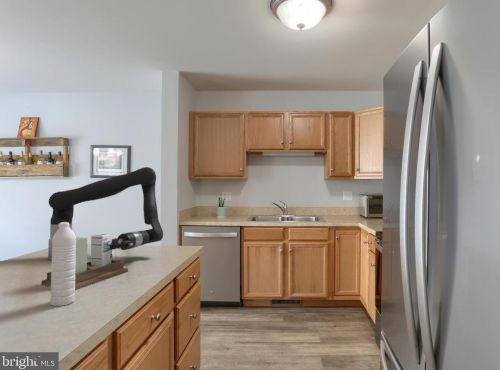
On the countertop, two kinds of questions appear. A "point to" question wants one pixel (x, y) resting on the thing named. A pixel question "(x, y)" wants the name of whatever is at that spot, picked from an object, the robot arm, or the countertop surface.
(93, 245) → the syrup box
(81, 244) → the sage block
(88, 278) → the brown wooden tray
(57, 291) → the water bottle
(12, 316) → the countertop surface
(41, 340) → the countertop surface
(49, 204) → the robot arm
